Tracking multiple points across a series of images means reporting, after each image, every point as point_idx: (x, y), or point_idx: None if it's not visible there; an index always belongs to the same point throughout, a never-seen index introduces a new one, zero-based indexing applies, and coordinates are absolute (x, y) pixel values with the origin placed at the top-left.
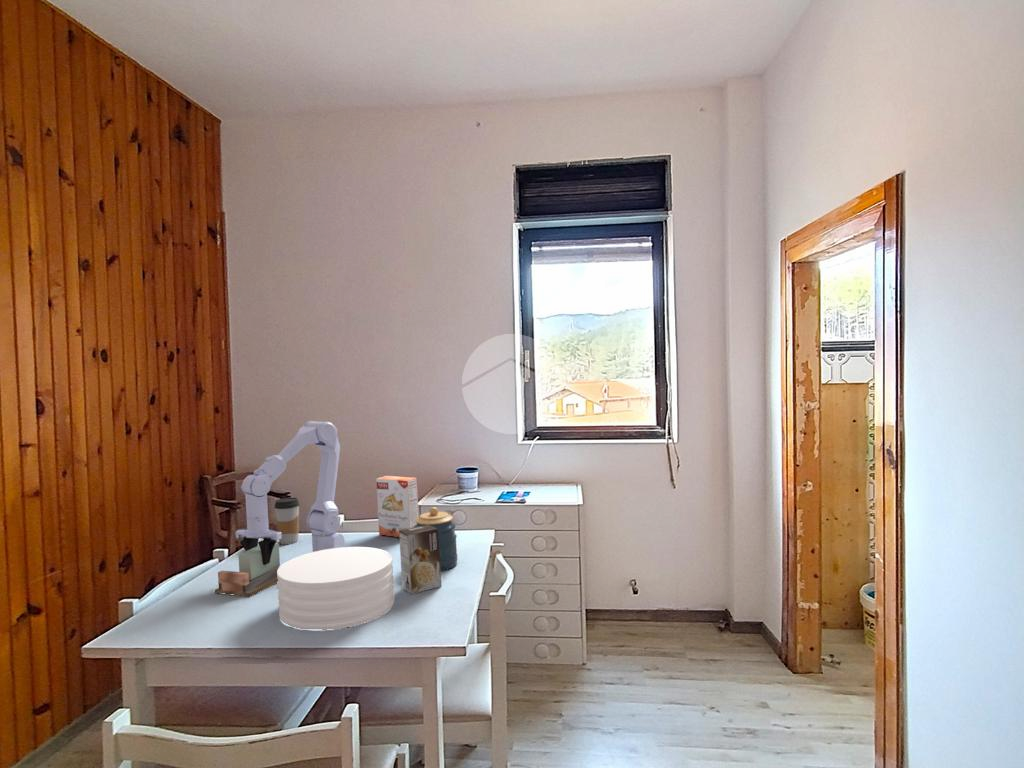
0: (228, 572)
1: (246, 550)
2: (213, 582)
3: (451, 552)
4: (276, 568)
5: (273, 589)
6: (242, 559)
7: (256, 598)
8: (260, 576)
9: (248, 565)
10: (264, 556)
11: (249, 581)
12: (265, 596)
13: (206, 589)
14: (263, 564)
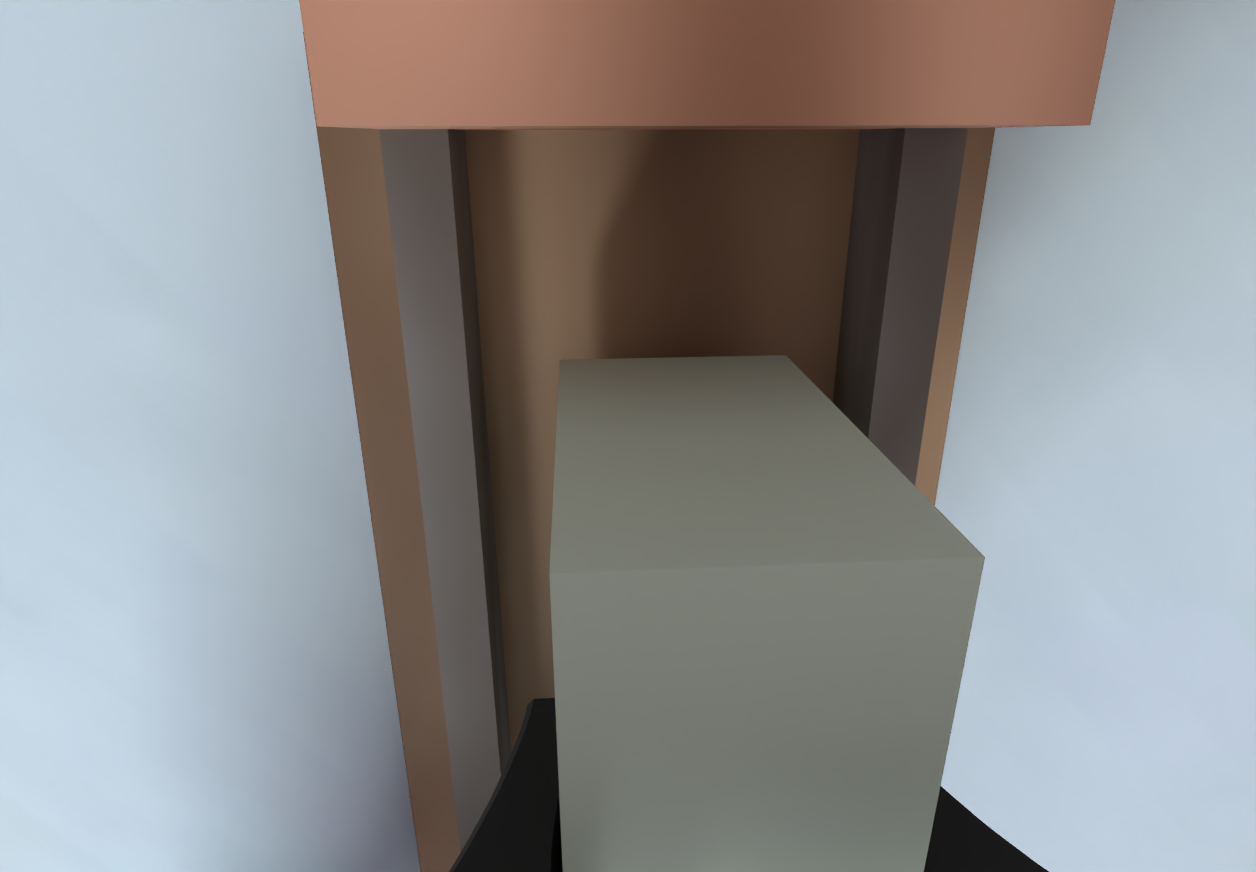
0: (840, 30)
1: (989, 861)
2: (1238, 401)
3: None
4: (497, 766)
5: (244, 377)
6: (800, 496)
7: (177, 6)
8: (468, 465)
9: (610, 443)
10: (491, 806)
11: None
12: (113, 116)
13: (1198, 164)
14: None
